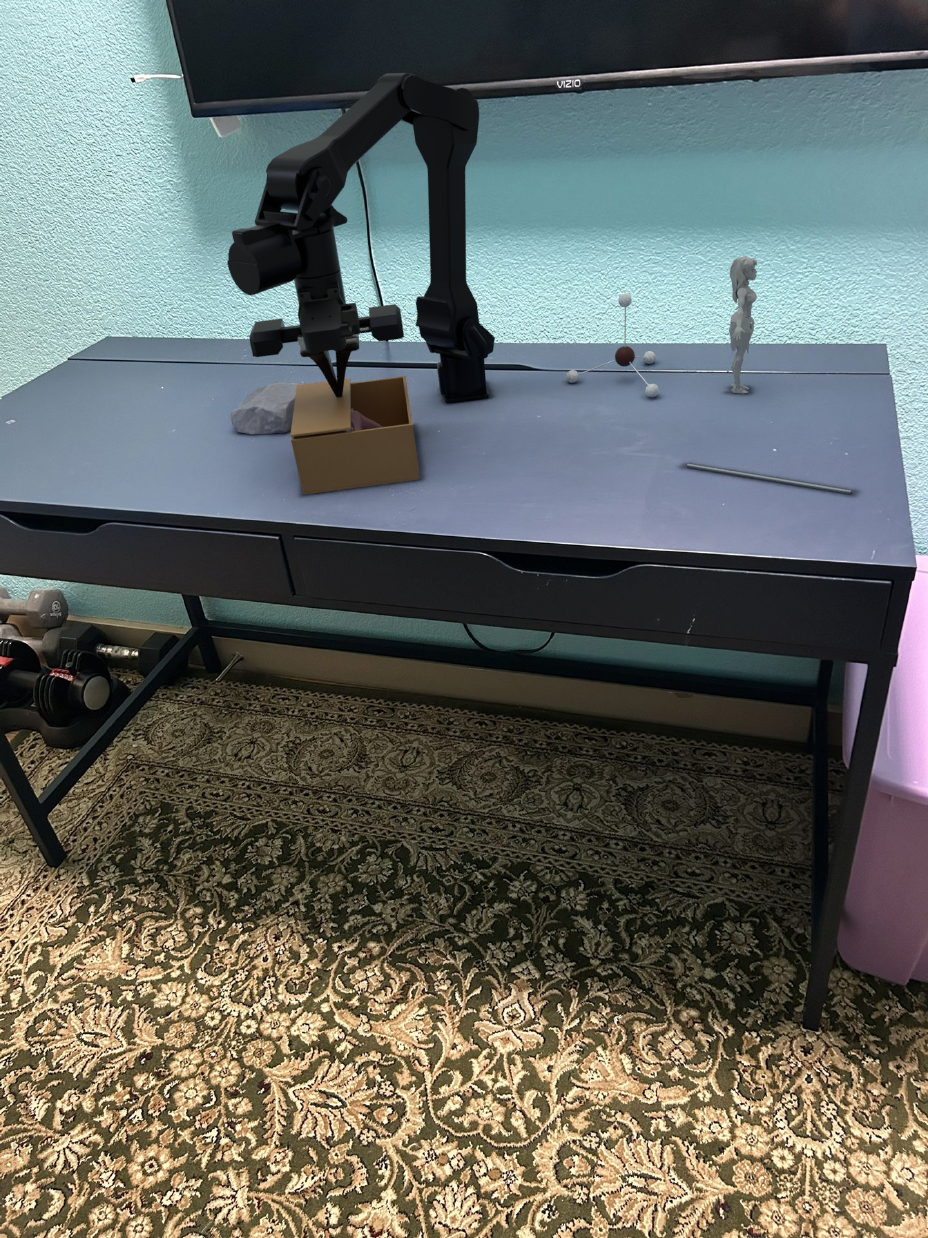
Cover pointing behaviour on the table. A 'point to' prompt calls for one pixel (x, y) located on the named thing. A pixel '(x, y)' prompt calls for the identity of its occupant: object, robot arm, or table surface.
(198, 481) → the table surface
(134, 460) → the table surface
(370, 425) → the video game controller
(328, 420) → the flap
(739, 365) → the human figurine
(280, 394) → the stone block
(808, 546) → the table surface
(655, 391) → the molecular model
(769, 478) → the rod
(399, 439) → the carton
